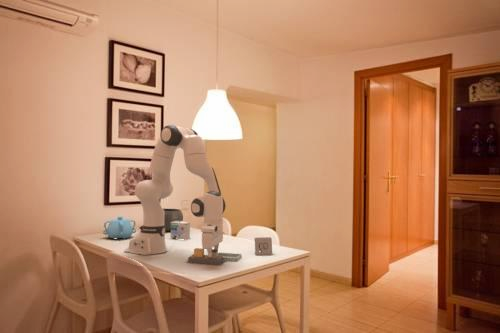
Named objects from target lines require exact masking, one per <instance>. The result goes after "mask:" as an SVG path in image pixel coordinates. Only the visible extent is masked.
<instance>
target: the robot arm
mask: <svg viewBox="0 0 500 333" xmlns="http://www.w3.org/2000/svg"><path fill="white" fill-rule="evenodd" d="M179 148H180V149H182V151H183V158H184V165H185V167H186V169H187V171H188V172H190V173H191V174H193V175H195V176H198V177H199V178H202V179H203V180H204V181H205V183H206V186H207V189H208V191H207V192H206V193H205V194H204V195H201V196H199V197H195V198H194V199H193V200H192V201H191V203H190V211H191V213H192V215H193V216H195V217H196V218H204V219H203V220H204V221H203V225H202V226H201V228H200V231H201V232H202V233H201V247H202V249H204V250H206V251H207V255H208V257H212V256H213V255H212V254H213V253H212V249H215V250H218V251H219V246H220V244H221V243H222V242H223V241H224V230H223V229H224V227H223V226H224V225H223V224H224V218H223V214H224V212H225V210H226V202H225V199H224V197H223V195H222V191H221V189H220V185H219V182H218V178H217V175H216V172H215V170H214V168H213V167H212V165H210V162H209V161H208V157H207V152H206V148H205V143H204V142H203V138H202V137H201V136H200V135H199V134H198V132H197V131H195V130H194V129H192V128H188V127H185V126H179V125H174V124H168V125H165V126H164V127H163V128H162V129H161V131H160V136H159V138H158V139H157V141H156V144H155V146H154V149H153V153H152V157H151V161H150V165H149V168H150V170H151V172H152V178H151V179H144V180H142V181H140V182H138V183H137V184H136V185H135V187H134V194H135V196H136V198H137V199H138V200H139V202H140V204H141V206H142V211H143V212H142V213H143V224H142V225H141V226H139V228H138V230H140V231H139V232H138V233H137V234H136V235H135V236H133V237H132V238H131V239H130V240H129V243H128V247H126V248H125V249H124V253H128V252H129V253H128V254H136V255H143V256H148V255H156V254H162V253H165V252H167V251H168V250H167V249H168V248H167V245H166V238H165V237H166V236H165V234H166V231H165V225H164V216H165V212H164V209H165V208H163V207H162V204H161V202H160V200H161V199H162V200H163V199H166V198H168V197H170V196H171V195H172V193H173V191H174V187H173V184H172V183H171V171H172V166H173V164H174V163H173V161H174V158H175V155H176V154H175V153H176V151H177V149H179Z"/></svg>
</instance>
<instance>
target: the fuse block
mask: <svg viewBox="0 0 500 333" xmlns="http://www.w3.org/2000/svg"><path fill="white" fill-rule="evenodd" d="M223 257H224V256H218V258H208V254H204V257H194V253H193V254H191V255H190V256H188V259H187V261H185V262H184V263H186V264H196V265H207V266H208V265H210V266H217V267H218V266H220V267H221V266H223V264H225V263H227V261H223Z"/></svg>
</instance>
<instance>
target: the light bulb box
mask: <svg viewBox="0 0 500 333" xmlns="http://www.w3.org/2000/svg"><path fill="white" fill-rule="evenodd" d="M190 232H191V222H190V221H184V220H183V221H174V222H171V231H170V236H169V237H170V238H177V239H176V240H178V239H184V240H183V241H186V240H189V239H190V238H191V236H190V235H191V234H190ZM188 238H189V239H188ZM185 239H186V240H185Z"/></svg>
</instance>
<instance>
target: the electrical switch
mask: <svg viewBox="0 0 500 333" xmlns="http://www.w3.org/2000/svg"><path fill="white" fill-rule="evenodd" d="M254 255H255V256H272V255H273V240H272V237H268V236H267V237H263V236H261V237H260V236H259V237H254Z"/></svg>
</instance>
